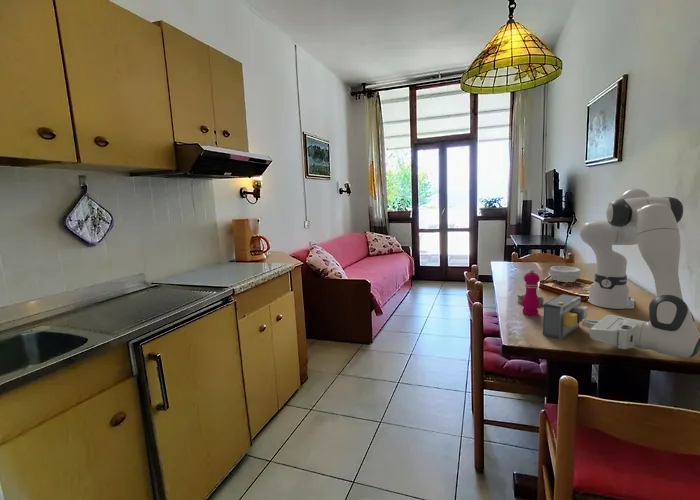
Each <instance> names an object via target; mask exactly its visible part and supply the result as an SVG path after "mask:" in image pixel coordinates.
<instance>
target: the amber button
mask: <svg viewBox="0 0 700 500" xmlns="http://www.w3.org/2000/svg"><path fill="white" fill-rule="evenodd" d="M564 325H566V326H571V327H574V326H575V325H577V314H575V313H570V312H566V313H565V314H564Z"/></svg>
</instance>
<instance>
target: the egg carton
mask: <svg viewBox="0 0 700 500" xmlns="http://www.w3.org/2000/svg"><path fill="white" fill-rule="evenodd" d="M516 296H517V297H518V298H517V302H518V303H519V304H521V305H522V299H523V297H524V296H525V294H522V295H516ZM537 297H538V299H539V302H540V306H544V300H545V298H546V297H545V296H544V297H541V296H537Z"/></svg>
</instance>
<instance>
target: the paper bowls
mask: <svg viewBox="0 0 700 500" xmlns="http://www.w3.org/2000/svg"><path fill="white" fill-rule="evenodd" d="M549 276H550V277H551V278H552V279H553V280H557V281H562V282H574V283H575V282H576V281H577V280H579V279H580V277H581V269H580V268H577V267H574V266H564V265H557V266H551V267H550V268H549Z"/></svg>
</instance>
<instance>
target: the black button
mask: <svg viewBox="0 0 700 500" xmlns="http://www.w3.org/2000/svg"><path fill="white" fill-rule="evenodd" d="M570 313H575V314H577V323H579V324H580V323H582V322H583V319H582V314H583V310H578V309H573V308H572V309H571V310H570Z"/></svg>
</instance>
